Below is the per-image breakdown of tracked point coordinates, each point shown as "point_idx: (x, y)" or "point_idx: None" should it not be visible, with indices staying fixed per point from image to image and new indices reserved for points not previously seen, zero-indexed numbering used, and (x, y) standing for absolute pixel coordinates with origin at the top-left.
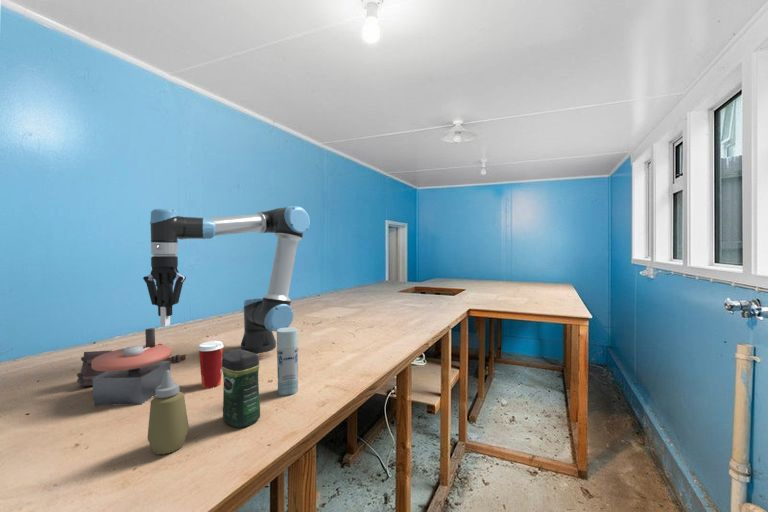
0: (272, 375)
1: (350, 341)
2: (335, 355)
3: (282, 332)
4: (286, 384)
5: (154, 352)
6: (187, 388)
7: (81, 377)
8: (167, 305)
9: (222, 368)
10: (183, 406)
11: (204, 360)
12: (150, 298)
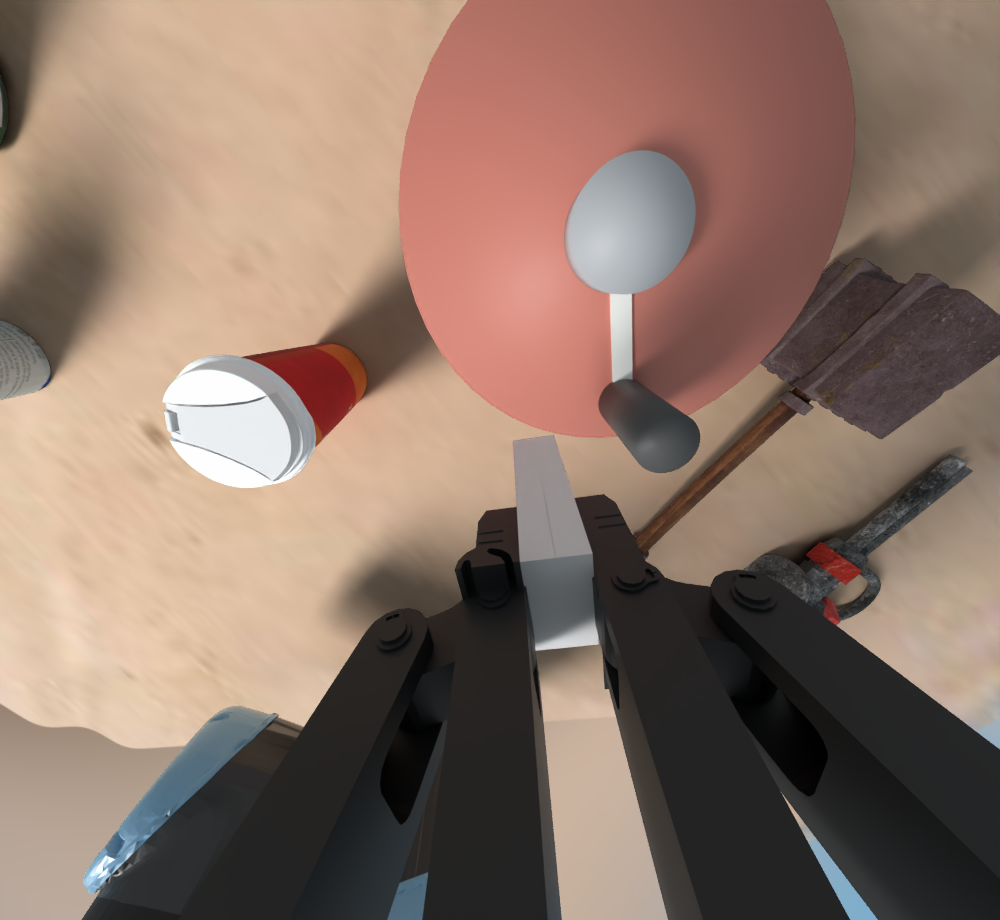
0: (189, 479)
1: (173, 742)
2: (125, 645)
3: None
4: None
5: (509, 295)
6: (402, 335)
7: (877, 268)
8: (458, 571)
9: None
10: None
11: (261, 354)
12: (901, 679)
